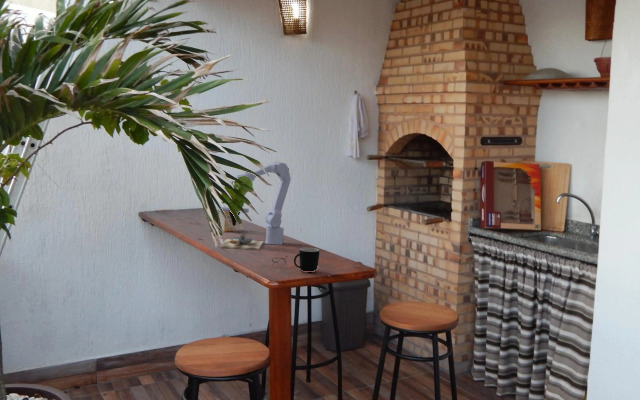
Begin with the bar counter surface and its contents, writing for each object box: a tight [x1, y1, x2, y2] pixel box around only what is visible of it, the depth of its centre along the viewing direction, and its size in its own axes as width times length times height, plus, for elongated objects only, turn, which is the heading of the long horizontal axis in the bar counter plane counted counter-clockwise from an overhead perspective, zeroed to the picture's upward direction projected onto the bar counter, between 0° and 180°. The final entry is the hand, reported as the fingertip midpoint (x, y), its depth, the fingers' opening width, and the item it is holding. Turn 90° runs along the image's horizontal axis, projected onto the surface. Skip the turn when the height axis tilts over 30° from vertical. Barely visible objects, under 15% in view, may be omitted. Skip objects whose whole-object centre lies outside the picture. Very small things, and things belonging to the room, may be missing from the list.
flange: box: [230, 236, 253, 244], centre depth 360 cm, size 14×10×1 cm
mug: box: [293, 247, 320, 271], centre depth 308 cm, size 12×9×10 cm
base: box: [219, 232, 264, 251], centre depth 362 cm, size 20×20×6 cm
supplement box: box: [218, 210, 235, 233], centre depth 402 cm, size 8×5×13 cm, turn 143°
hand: (234, 225), depth 364 cm, fingers closed
